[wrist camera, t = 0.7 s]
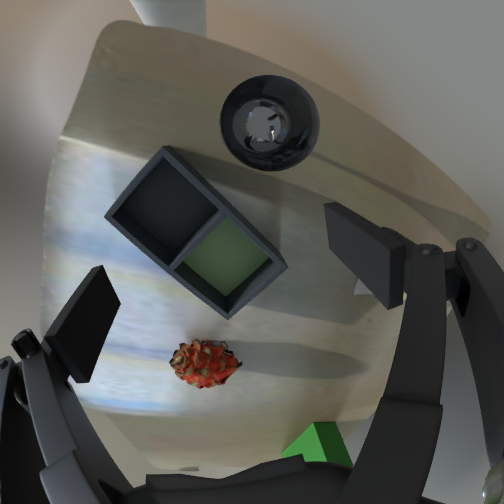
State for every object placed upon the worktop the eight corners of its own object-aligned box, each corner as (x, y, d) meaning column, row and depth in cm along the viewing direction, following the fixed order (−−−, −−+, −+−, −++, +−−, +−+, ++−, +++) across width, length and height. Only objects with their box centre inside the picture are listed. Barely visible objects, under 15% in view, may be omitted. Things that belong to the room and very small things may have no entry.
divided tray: (169, 145, 33) (162, 145, 28) (279, 252, 41) (288, 267, 36) (115, 206, 35) (103, 216, 30) (225, 300, 43) (227, 320, 38)
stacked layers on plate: (410, 248, 44) (428, 261, 39) (396, 293, 48) (412, 308, 43) (365, 245, 43) (383, 259, 38) (352, 294, 46) (367, 312, 41)
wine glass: (217, 99, 32) (221, 72, 18) (278, 101, 33) (321, 80, 19) (215, 159, 35) (218, 171, 21) (276, 160, 36) (317, 173, 22)
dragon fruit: (167, 335, 46) (233, 336, 50) (167, 382, 44) (233, 381, 48) (170, 339, 38) (249, 340, 42) (171, 394, 36) (249, 392, 40)
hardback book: (302, 452, 68) (322, 516, 46) (281, 453, 66) (299, 521, 44) (335, 422, 63) (365, 494, 41) (313, 422, 61) (340, 500, 39)
